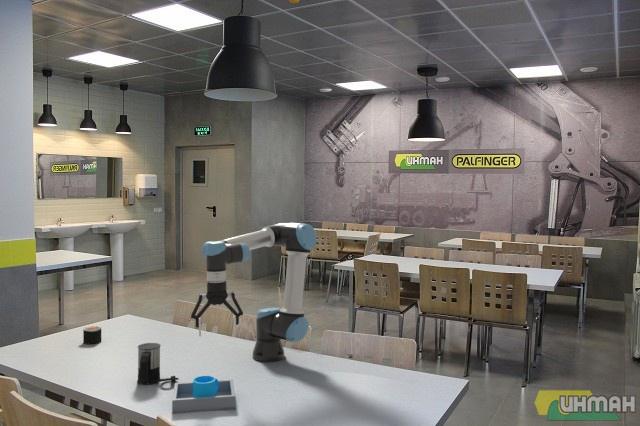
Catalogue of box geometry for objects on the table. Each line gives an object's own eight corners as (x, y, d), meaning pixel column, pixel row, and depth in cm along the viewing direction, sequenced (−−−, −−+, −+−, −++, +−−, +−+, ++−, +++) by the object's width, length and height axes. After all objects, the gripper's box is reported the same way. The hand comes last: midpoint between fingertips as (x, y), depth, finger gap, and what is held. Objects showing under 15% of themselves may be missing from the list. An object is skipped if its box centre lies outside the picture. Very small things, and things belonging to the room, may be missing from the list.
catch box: (232, 391, 205) (232, 379, 205) (235, 409, 188) (235, 396, 188) (174, 395, 200) (174, 382, 200) (172, 413, 183) (172, 400, 183)
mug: (205, 407, 187) (205, 385, 187) (188, 402, 191) (188, 380, 191) (226, 396, 198) (226, 375, 197) (209, 392, 202) (210, 371, 201)
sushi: (89, 339, 271) (89, 324, 271) (104, 340, 270) (104, 325, 270) (80, 344, 263) (80, 328, 263) (95, 345, 262) (95, 329, 262)
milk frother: (136, 378, 217) (136, 343, 217) (175, 374, 223) (175, 340, 223) (138, 390, 204) (138, 353, 203) (179, 385, 210) (180, 349, 209)
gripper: (183, 284, 198) (184, 339, 200) (249, 281, 204) (250, 334, 205) (184, 280, 205) (185, 333, 207) (247, 277, 211) (248, 329, 213)
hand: (217, 334), depth 206 cm, fingers open, 13 cm apart
